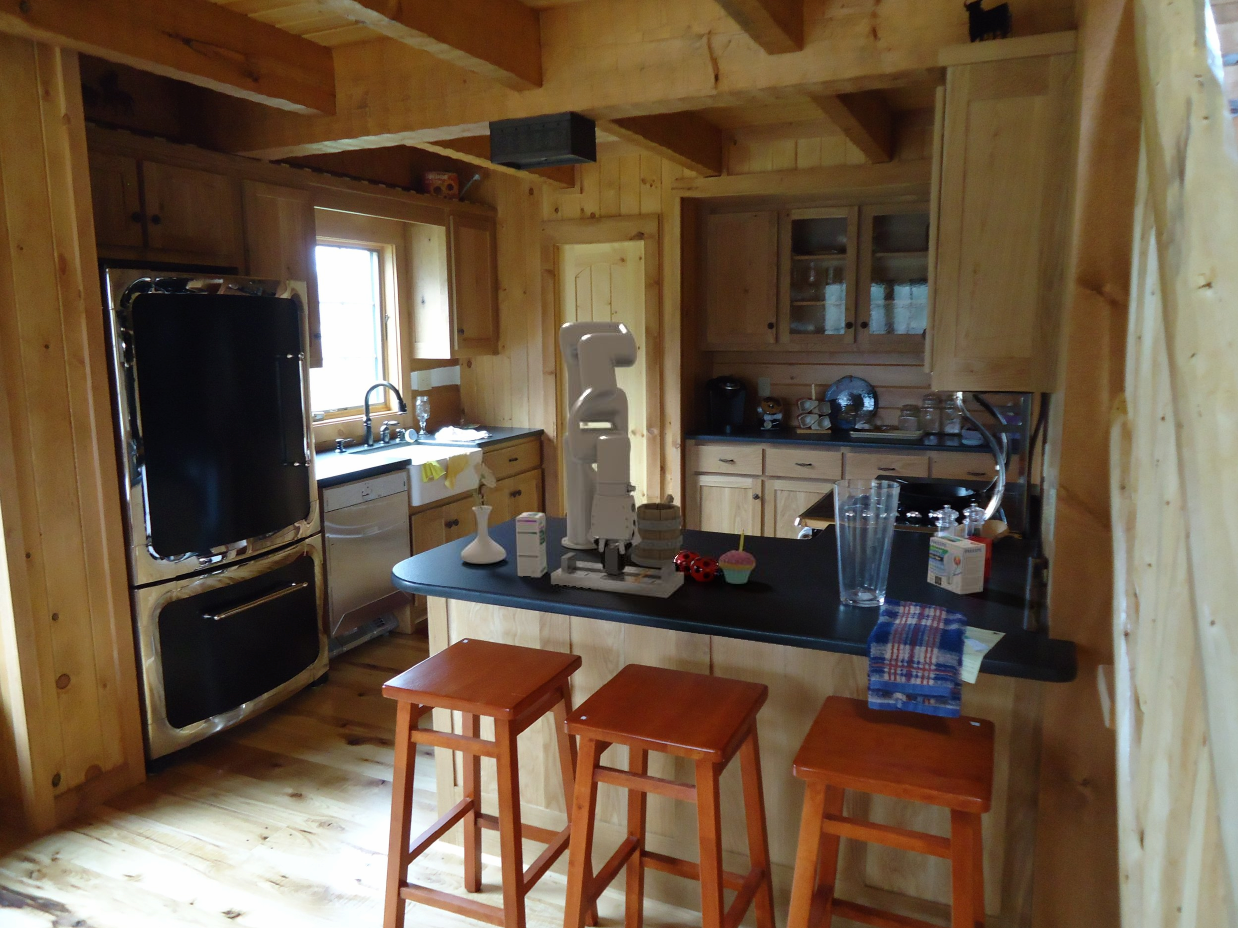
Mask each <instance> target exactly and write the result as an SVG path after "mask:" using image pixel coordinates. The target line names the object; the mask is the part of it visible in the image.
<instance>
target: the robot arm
mask: <svg viewBox="0 0 1238 928" xmlns="http://www.w3.org/2000/svg"><path fill="white" fill-rule="evenodd" d="M558 343H559V348H560V352H561V356H562V358H563V360H564V363H565V367H566V370H567V371H566V373H567V410H568V419H567V432H566V433H565V434H564V436H563V439H562V446H563V447H562V448H563V449H562V450H563V454H564V461H565V472H566V474H565V475H566V526H567V527H566V528H567V529H566V536H565V537H563V538H562V539H561V545H562V546H563V547H566V548H568V549H576V550H592V549H593V550H594V549H598V551H599V553H600V564H602V568H603V569H605V547H607V546H609V545H610V543H609V541H611V540H612V541H613V540H614V541H618V543H619V550H620V551H619V554H618V571H622V570H623V569H625V567H626V566H627V565H628V551H630V550H631V549H632V547H634V546H636V544H638V543H640V542H641V541H642V539H641V537H640V535H639V533H638V521H637V506H636V499H635V495H633V494H631V493H632V492H633V493H634V492H636V489H637V488H636V485H634V484H632V482H631V449H632V446H631V443H632V442H631V438H630V437H629V402H628V401H629V400H628V397H627V393H626V392H625V390H624V389H622V388H621V387H618V383H617V376H616V374H617V373H616V368H631V367H633V366H635V364H636V362H637V359H638V348H637V343H636V340H635V337H634V334H633V333H632V332H631V330H630V329H629V328H628V326H627V325H626V324H625V323H624V322H620V321H594V320H593V321H590V320H589V321H587V320H586V321H584V320H583V321H570V322H566V323H565V324H563V325H562V326H561V327H560V329H559V332H558ZM581 423H583V424H586V423H587V424H589V423H590V424H594V423H597V424H598V423H602V424H603V423H605V424H607V423H608V424H609V425H610V427H581ZM595 464H596V469H595V468H594V467H593V465H595ZM631 539H632V540H631ZM629 540H630V541H629Z"/></svg>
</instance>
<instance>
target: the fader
mask: <svg viewBox="0 0 1238 928" xmlns="http://www.w3.org/2000/svg"><path fill="white" fill-rule="evenodd" d="M619 551H620V550H619V542H618V543H615V542H614V543H609V544H608V546H607V547H605V573H607V574H616V575H618V574H619V573H620V572H622V571H623V570H625V569H623V570H622V571H618V554H619Z"/></svg>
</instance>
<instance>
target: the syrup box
mask: <svg viewBox="0 0 1238 928" xmlns="http://www.w3.org/2000/svg"><path fill="white" fill-rule="evenodd" d="M546 522H547V521H546V513H545V512H538V511H536V512H535V511H528V512H523V513H521V514H519V515H518V516H517V517H515V531H516V533H515V534H516V535H515V536H516V537H515V538H516V540H515V541H516V564H517V565H516V566H517V576H518V577H523V576H531V577H530V578H541V577H542V576H543V575H544V574H545V573H546V572H547V571H548V559H547V558H548V554H547V527H546Z"/></svg>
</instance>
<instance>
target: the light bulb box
mask: <svg viewBox="0 0 1238 928" xmlns="http://www.w3.org/2000/svg"><path fill="white" fill-rule="evenodd" d="M986 546H987V545H986V544H985V543H980V542H979V541H978V542H977V541H973V540H971V539H968V538H963V537H960V536H957V535H953V534H947V535H941V536H932V537H930V540H929V555H928V556H929V557H928V571H927V583H929V584H932V585H935V586H937V587H940V588H942V589H945V590H947V591H949V592H953V593H955V594H959V595H966V594H972V593H981V592H983V589H984V575H985V574H984V573H985V562H986V561H985V560H986V548H987V547H986Z"/></svg>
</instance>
